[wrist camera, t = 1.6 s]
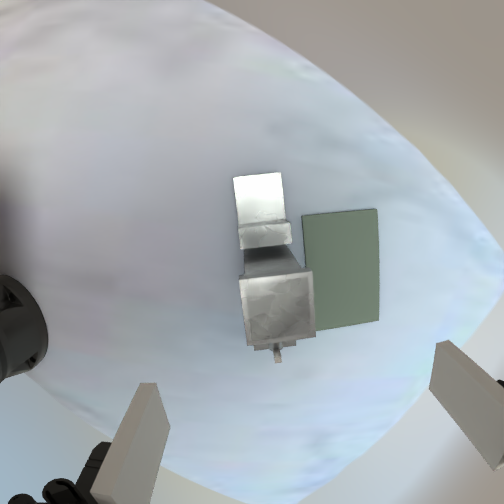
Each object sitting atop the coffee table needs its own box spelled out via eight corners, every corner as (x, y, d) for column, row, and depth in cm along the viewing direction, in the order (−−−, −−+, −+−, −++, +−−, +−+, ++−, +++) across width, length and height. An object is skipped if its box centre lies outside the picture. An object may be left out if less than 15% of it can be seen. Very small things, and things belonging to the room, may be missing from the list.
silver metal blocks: (253, 344, 39) (255, 369, 33) (233, 177, 35) (231, 176, 29) (294, 339, 39) (301, 363, 33) (279, 172, 35) (285, 170, 29)
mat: (309, 330, 39) (310, 331, 38) (301, 215, 36) (302, 216, 36) (377, 319, 39) (378, 320, 38) (375, 208, 36) (377, 209, 36)
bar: (245, 288, 38) (247, 345, 24) (240, 244, 37) (238, 280, 23) (290, 283, 38) (315, 336, 24) (286, 238, 37) (312, 271, 23)
